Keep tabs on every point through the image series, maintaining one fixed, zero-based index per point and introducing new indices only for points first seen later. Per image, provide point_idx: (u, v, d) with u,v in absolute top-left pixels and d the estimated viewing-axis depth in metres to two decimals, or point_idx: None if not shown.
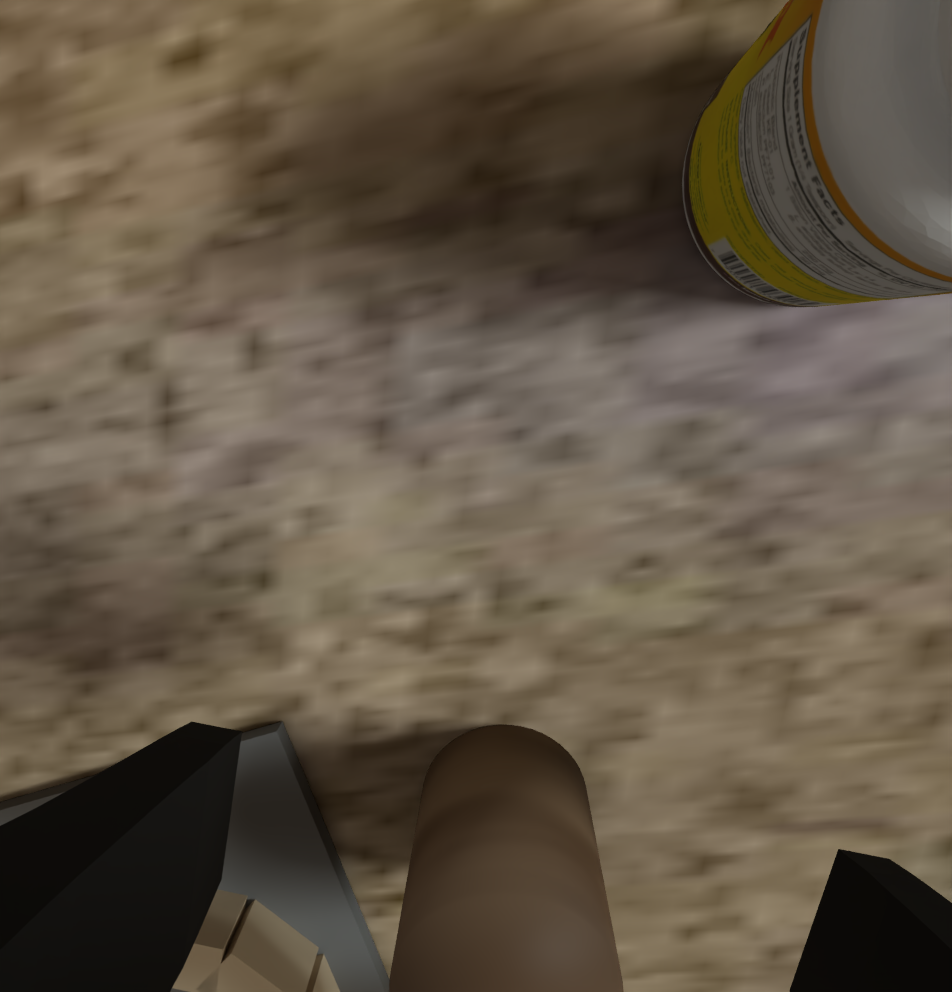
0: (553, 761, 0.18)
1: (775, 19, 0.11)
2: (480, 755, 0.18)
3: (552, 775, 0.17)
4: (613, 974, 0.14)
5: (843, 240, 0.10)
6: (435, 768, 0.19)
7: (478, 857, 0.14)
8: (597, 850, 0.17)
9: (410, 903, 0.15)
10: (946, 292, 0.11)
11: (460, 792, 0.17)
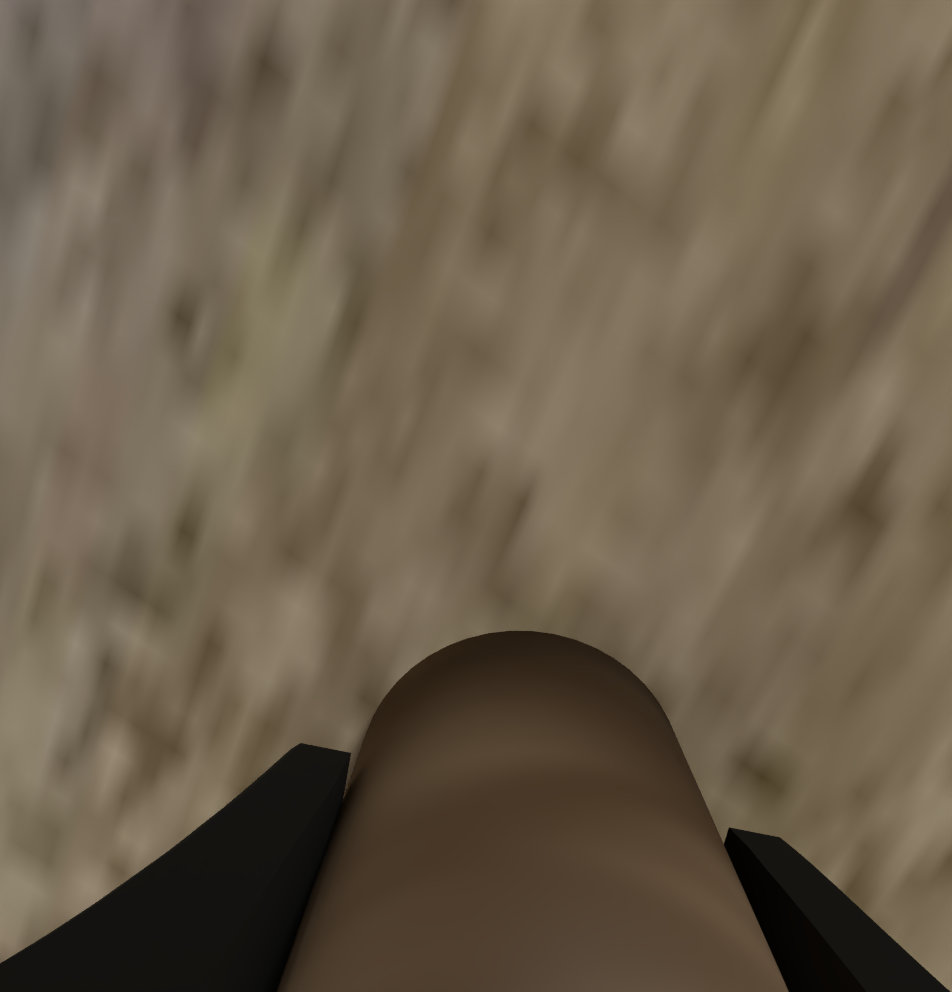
0: (435, 686, 0.09)
1: None
2: None
3: (425, 715, 0.08)
4: None
5: None
6: None
7: None
8: (582, 745, 0.07)
9: None
10: None
11: None
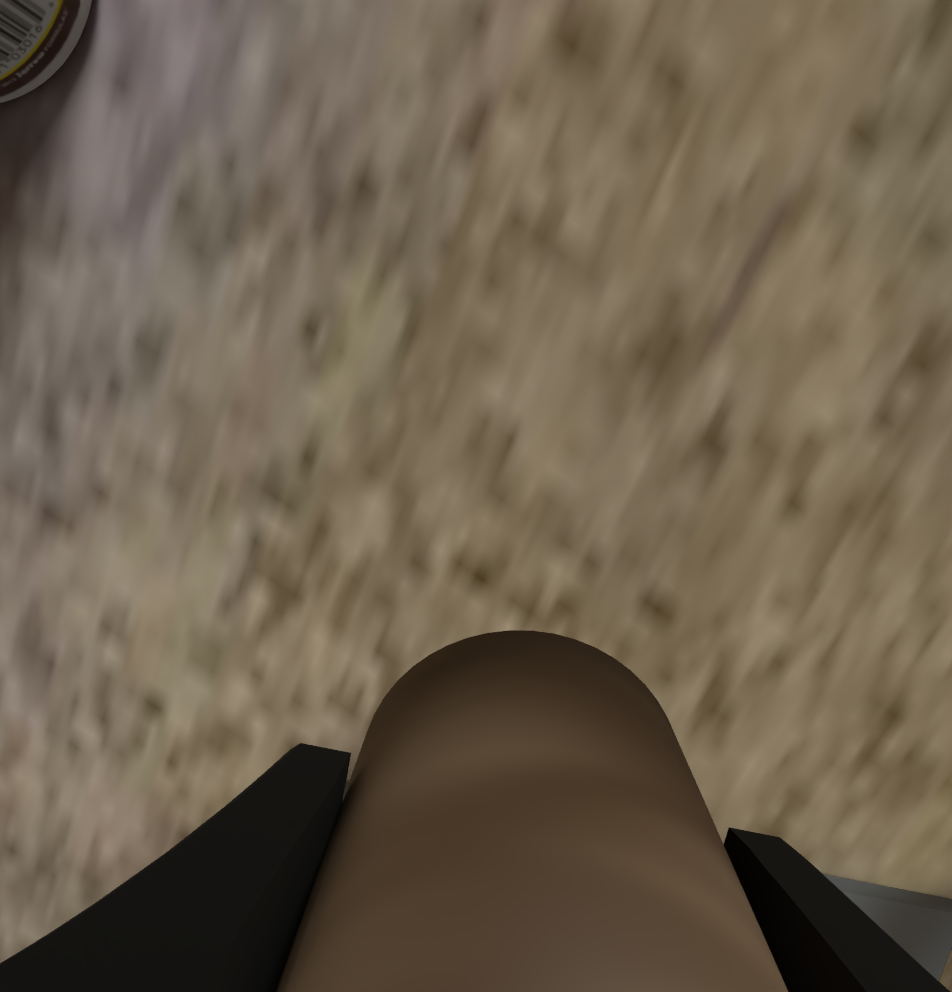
0: (435, 685, 0.09)
1: None
2: None
3: (425, 714, 0.08)
4: None
5: None
6: None
7: None
8: (581, 744, 0.07)
9: None
10: None
11: None
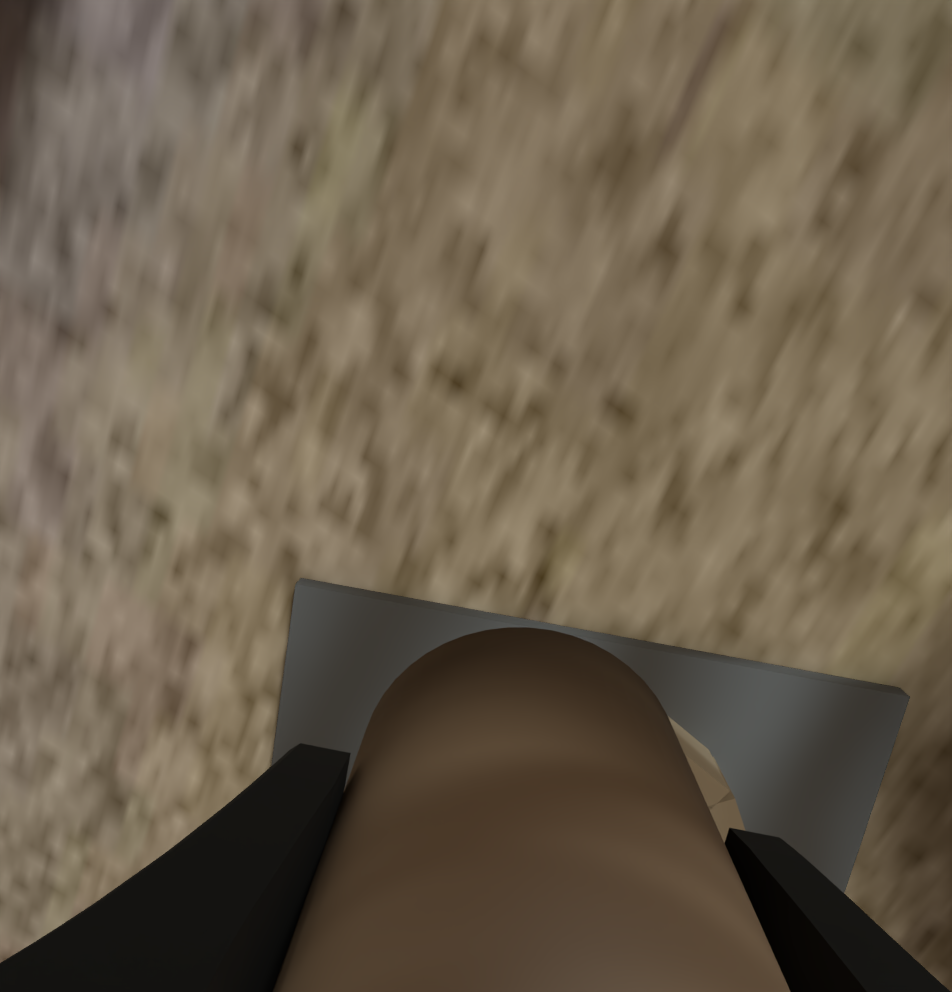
0: (432, 682, 0.09)
1: None
2: None
3: (422, 712, 0.08)
4: None
5: None
6: None
7: None
8: (578, 739, 0.07)
9: None
10: None
11: None
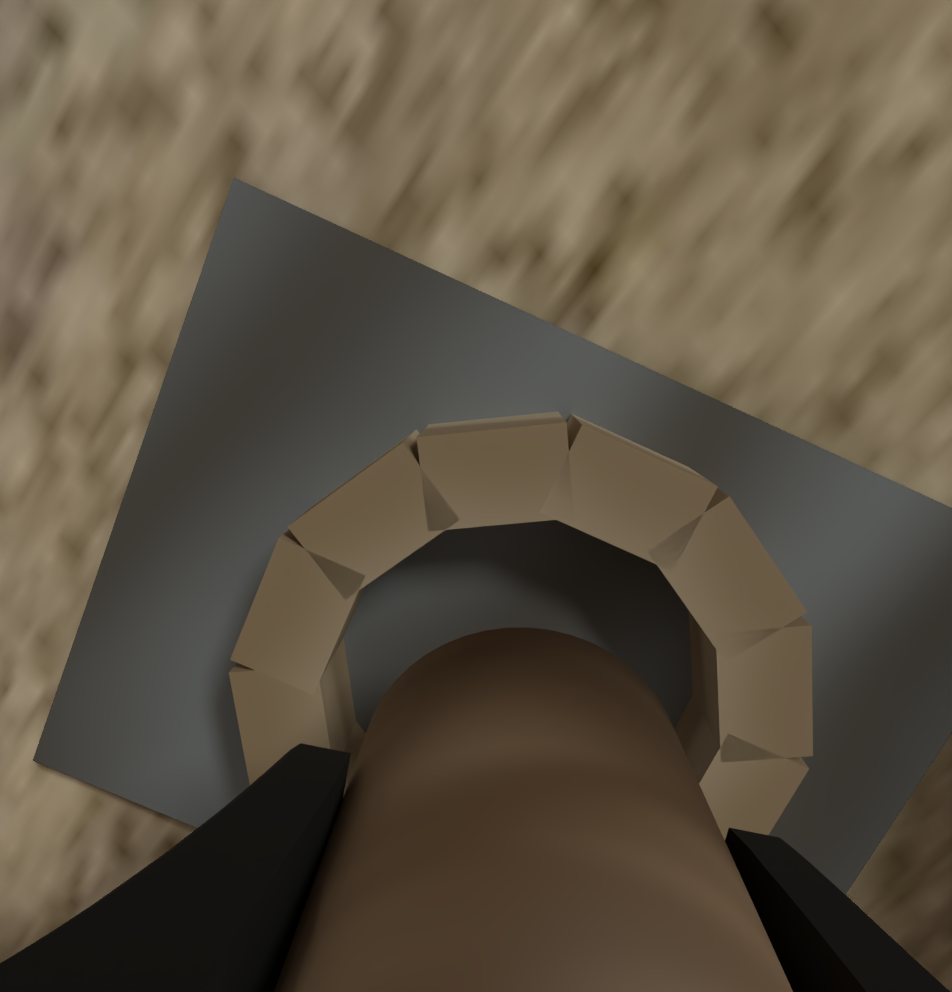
0: (431, 683, 0.09)
1: None
2: None
3: (421, 713, 0.08)
4: None
5: None
6: None
7: None
8: (576, 738, 0.07)
9: None
10: None
11: None
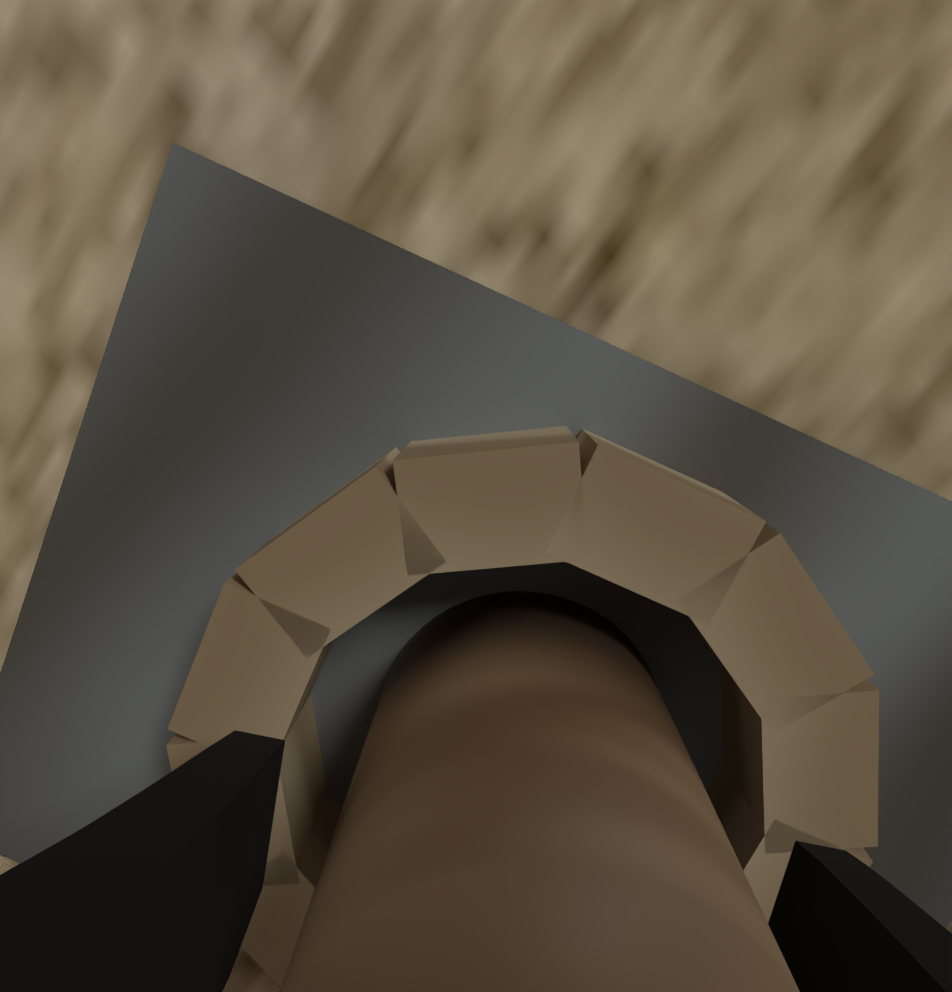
0: (443, 636, 0.10)
1: None
2: None
3: (435, 657, 0.09)
4: (609, 889, 0.05)
5: None
6: None
7: None
8: (567, 671, 0.08)
9: None
10: None
11: None
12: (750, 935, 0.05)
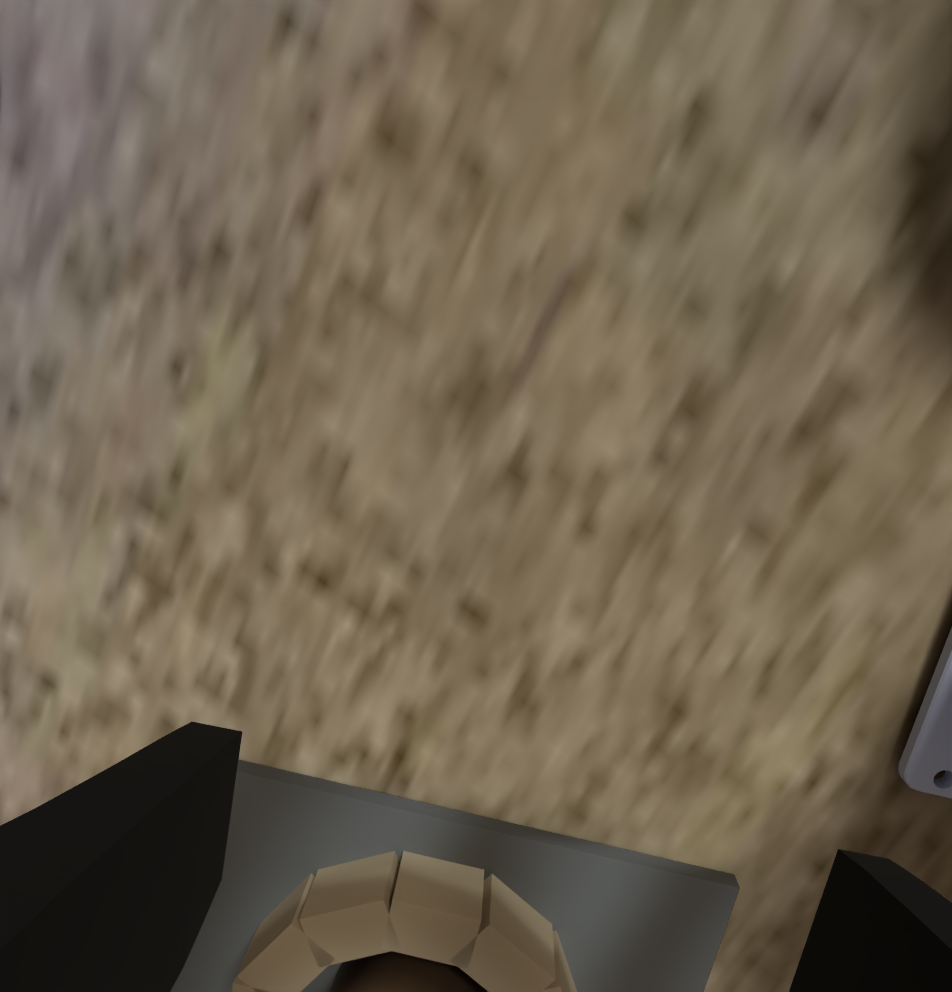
0: (349, 978, 0.19)
1: None
2: None
3: None
4: None
5: None
6: None
7: None
8: None
9: None
10: None
11: None
12: None
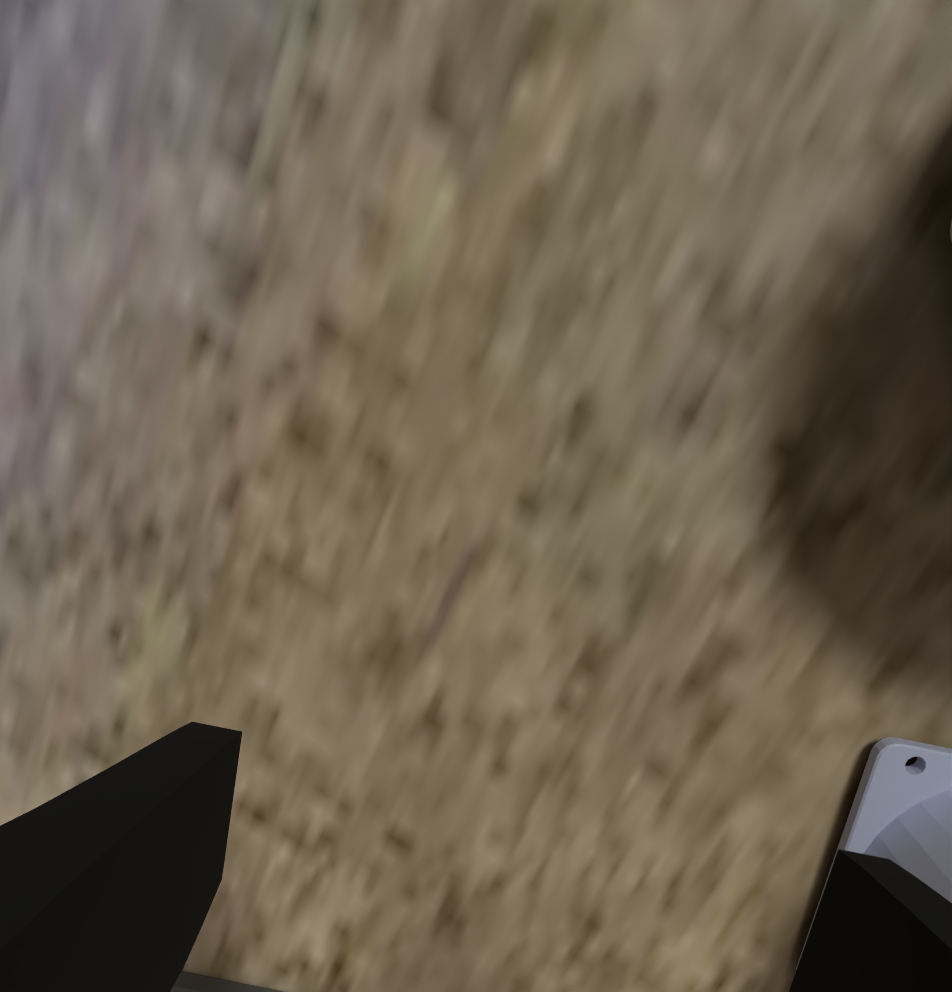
0: None
1: None
2: None
3: None
4: None
5: None
6: None
7: None
8: None
9: None
10: None
11: None
12: None
